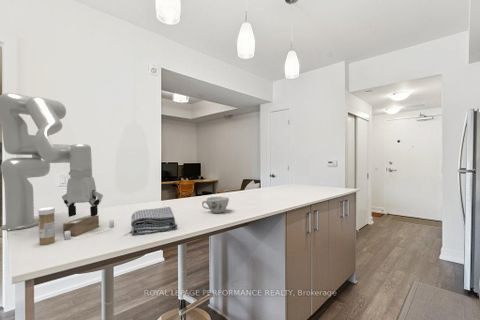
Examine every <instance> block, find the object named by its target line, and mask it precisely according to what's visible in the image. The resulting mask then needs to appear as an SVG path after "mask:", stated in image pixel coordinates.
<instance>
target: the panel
mask: <svg viewBox="0 0 480 320" xmlns="http://www.w3.org/2000/svg"><path fill="white" fill-rule="evenodd" d="M108 223H109V224H108V225H109V227H107V226H102V227H97V228H95V229H93V230H90V231H88V232H86V233H83V234H81V235H79V236H76V237H71V236H70V231H65V232H64V234H65V237H64V241H68V240H71V239H73V240H74V239H75V240H79V239H83V238H87V237H89V236H93V235H97V234H100V233H101V234H102V233H103V232H107V231H111V230H112V229H113V228H115V219H110V220H109V221H108Z"/></svg>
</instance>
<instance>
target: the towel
mask: <svg viewBox="0 0 480 320" xmlns="http://www.w3.org/2000/svg"><path fill="white" fill-rule="evenodd" d="M130 225H131V226H130V227H131V235H135V236H139V235H146V234H152V233H159V232H164V231H171V230H172V231H175V230H176V229H177V227H178V223H176V218H175V216H174V213H173V210H172V208H171V207H170V206H166V207H158V208H149V209H140V210H139V209H138V210H136V211H134V212H133V213H132V215H131V224H130Z"/></svg>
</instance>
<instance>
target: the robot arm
mask: <svg viewBox="0 0 480 320" xmlns="http://www.w3.org/2000/svg"><path fill="white" fill-rule="evenodd" d="M21 114H22V115H25V116H30V118H31V120H32V121H33V122H34V124H35V125H36V127H37V129H38V130H37V132H35V135H34V134H33V135H32V134H29V131H28V130H29V129H28V125H27V122H26V121H25V120H24V119H23V117H22V116H21ZM66 115H67V109H66V106H65V105H64V104H63V103H62V102H61V101H58V100H54V99H50V98H44V97H39V96H34V97H32V96H29V95H24V94H20V93H12V92H8V93H3V94H0V123H1V131H2V141H3V142H2V144H3V148H4V151H5V153H7V154H9V155H14V156H15V155H16V156H18V155H19V156H21V155H22V156H29V155H30V156H32V157H11V158H8V159H5V160H4V161H2V162H1V164H0V172H1V175H2V179H3V184H4V185H3V186H4V208H5V211H4V212H5V213H4V214H5V224H3V225H1V226H0V230H1V231H17V230H24V229H28V228H32V227H35V226H37V225H39V220H37V219H36V220H35V217H34V216H35V206H34V205H35V204H34V187H33V184H32V183H31V181H29V179H30V178H40V177H42V178H43V177H45V176H47V175H49V172H50V171H51V170H50V169H51V164H60V163H61V164H64V163H65V164H67V163H69V172H68V175H69V178H68V180H67V184H66V193H65V194H63V195H61V199H62V200H63V203H64V204H65V206H66V208H67V214H68V217H69V218H70V217H74V216H76V215H77V208H76V204H80V203H81V204H82V203H89V205H90V207H89V209H90V210H89V211H90V215H91V216H95V215H98V212H99V211H98V210H99V209H98V206H99V205H100V203H101V201H102V199H103V197H104V195H103V194H102V193H100V192H98V191H97V186H96V181H95V178H94V176H93V165H92V164H93V161H92V148H91V146H90V145H89V144H85V143H84V144H82V143H80V144H79V143H78V144H53V143H52V141H51V139H50V138H49V137H50V136H51V135H54V134H57V133H58V132H60V131H61V130H62V128H63V123H62V121H61V120H62V119H64V118H65V117H66ZM8 229H10V230H8Z"/></svg>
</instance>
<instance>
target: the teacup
mask: <svg viewBox="0 0 480 320" xmlns="http://www.w3.org/2000/svg"><path fill="white" fill-rule="evenodd" d="M229 199H230V198H229V197H228V196H227V197H226V196H211V197H207V198H206V200H203V201H202V202H201V206H202V207H203V208H204V209H205V210H206V209H207V210H210V211H211V212H212V213H213V214H222V213H224V211H225V210H226V209H227V207H228V204H229ZM204 204H206V206H207V207H206V206H205V205H204Z"/></svg>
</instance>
